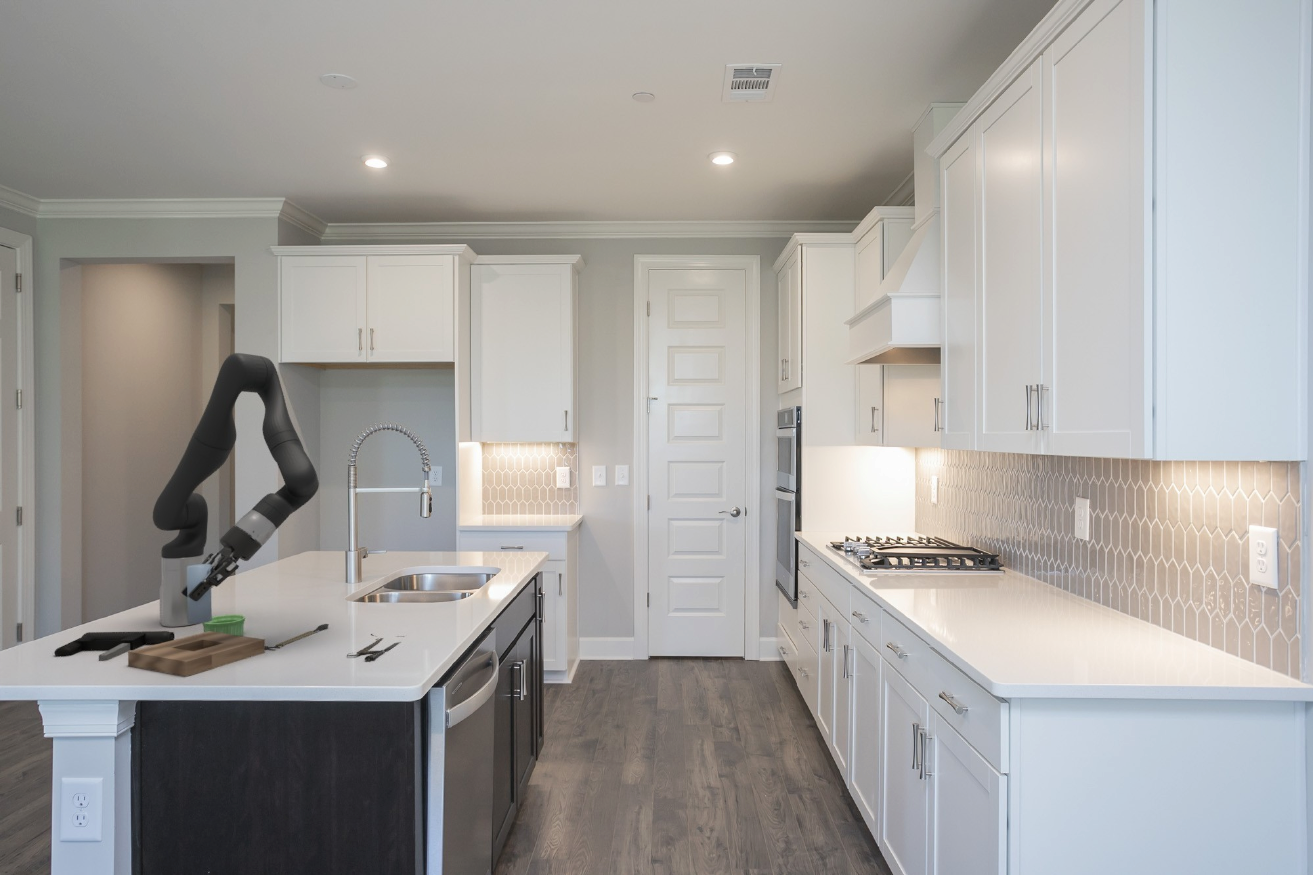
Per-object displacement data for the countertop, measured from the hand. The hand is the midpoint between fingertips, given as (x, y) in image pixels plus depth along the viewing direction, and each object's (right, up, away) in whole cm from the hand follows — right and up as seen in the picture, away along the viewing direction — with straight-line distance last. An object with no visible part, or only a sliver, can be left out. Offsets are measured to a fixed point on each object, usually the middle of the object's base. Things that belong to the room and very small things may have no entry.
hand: (188, 596), depth 161 cm
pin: (+2, -6, +1) cm, 6 cm away
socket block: (+1, -14, +1) cm, 14 cm away
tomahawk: (+16, -14, +18) cm, 28 cm away
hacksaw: (+35, -14, +12) cm, 40 cm away
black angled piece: (-22, -14, +8) cm, 28 cm away
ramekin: (-4, -14, +20) cm, 25 cm away
